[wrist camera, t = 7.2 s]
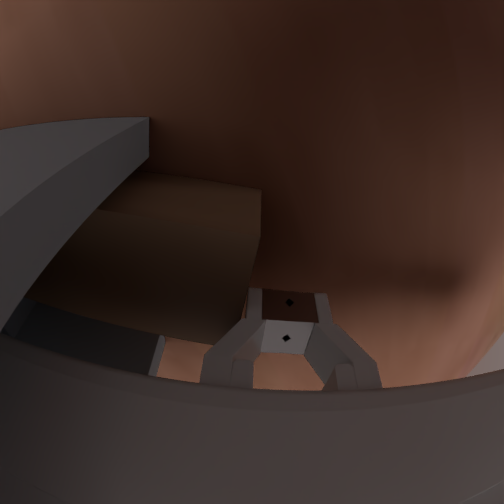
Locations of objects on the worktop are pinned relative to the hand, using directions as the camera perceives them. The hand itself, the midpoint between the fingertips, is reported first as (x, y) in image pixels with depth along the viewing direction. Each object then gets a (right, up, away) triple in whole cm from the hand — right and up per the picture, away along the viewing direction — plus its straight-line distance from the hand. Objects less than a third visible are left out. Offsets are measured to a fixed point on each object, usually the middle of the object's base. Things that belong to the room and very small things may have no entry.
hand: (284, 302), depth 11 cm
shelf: (-10, +2, +1) cm, 11 cm away
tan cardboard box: (-7, +3, 0) cm, 8 cm away
